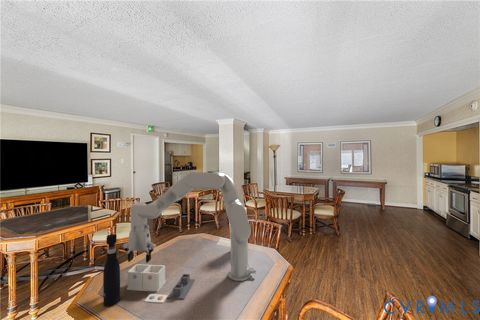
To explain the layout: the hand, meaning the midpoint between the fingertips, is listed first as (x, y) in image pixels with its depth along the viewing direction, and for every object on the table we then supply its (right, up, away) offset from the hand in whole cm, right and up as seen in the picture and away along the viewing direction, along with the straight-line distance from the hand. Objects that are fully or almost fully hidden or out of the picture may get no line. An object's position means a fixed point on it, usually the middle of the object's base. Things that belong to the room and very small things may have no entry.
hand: (139, 261), depth 105 cm
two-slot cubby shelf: (+4, -12, 0) cm, 13 cm away
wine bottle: (-6, -13, -12) cm, 19 cm away
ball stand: (+23, -12, -4) cm, 26 cm away
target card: (+13, -12, -11) cm, 21 cm away
